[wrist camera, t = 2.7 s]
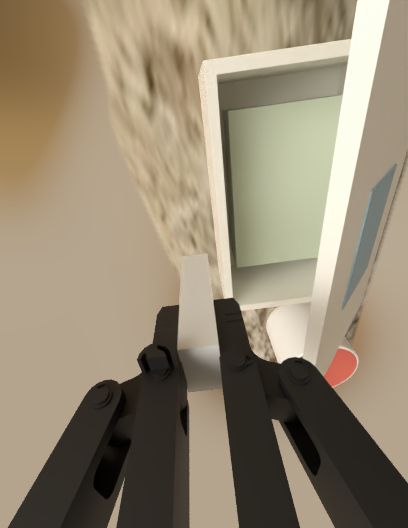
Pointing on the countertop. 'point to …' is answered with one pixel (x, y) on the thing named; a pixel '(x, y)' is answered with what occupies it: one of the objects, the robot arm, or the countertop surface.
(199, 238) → the countertop surface
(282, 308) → the cup
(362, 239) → the lid
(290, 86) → the box
